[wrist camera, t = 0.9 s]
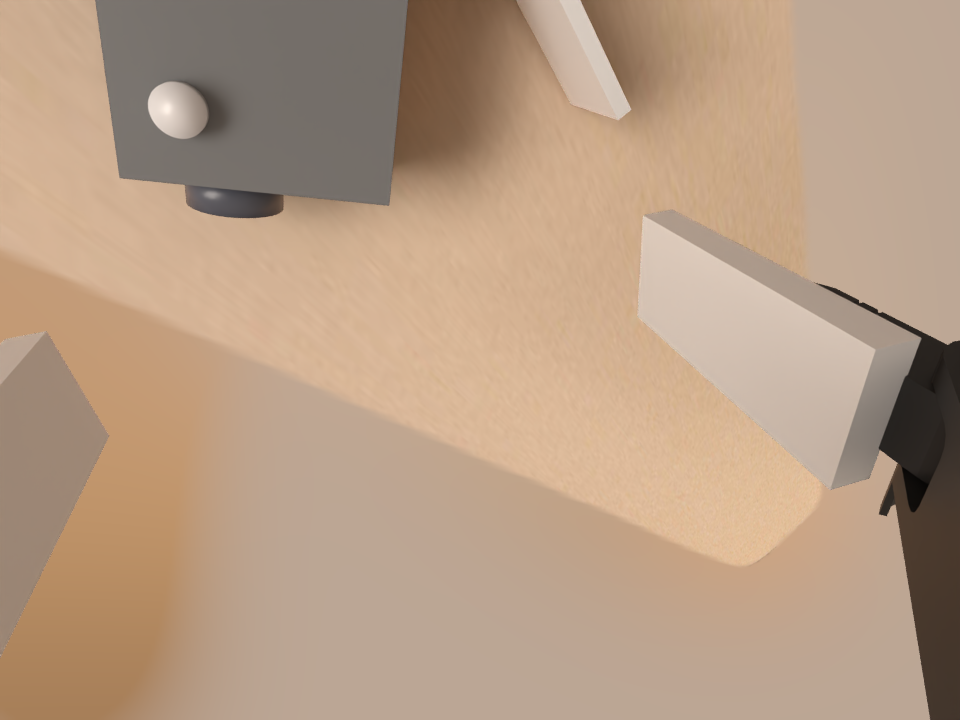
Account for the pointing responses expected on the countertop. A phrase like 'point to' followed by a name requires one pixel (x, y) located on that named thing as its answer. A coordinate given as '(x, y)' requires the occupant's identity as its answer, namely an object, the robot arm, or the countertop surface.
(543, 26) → the side door
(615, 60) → the countertop surface
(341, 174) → the camera case
